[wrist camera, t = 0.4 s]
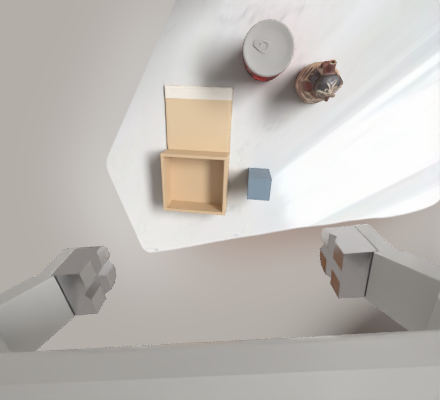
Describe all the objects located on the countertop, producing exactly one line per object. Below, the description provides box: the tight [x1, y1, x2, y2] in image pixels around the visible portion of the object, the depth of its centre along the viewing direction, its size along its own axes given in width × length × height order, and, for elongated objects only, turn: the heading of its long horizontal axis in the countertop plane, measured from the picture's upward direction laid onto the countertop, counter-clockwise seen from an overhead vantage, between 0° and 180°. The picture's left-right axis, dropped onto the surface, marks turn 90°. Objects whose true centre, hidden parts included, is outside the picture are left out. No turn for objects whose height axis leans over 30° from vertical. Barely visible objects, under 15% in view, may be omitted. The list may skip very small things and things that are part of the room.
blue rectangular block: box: [247, 168, 272, 201], centre depth 53 cm, size 4×4×8 cm
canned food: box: [243, 19, 294, 81], centre depth 42 cm, size 8×8×11 cm
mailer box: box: [160, 85, 233, 215], centre depth 53 cm, size 26×14×6 cm, turn 178°
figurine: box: [295, 60, 343, 103], centre depth 43 cm, size 7×7×12 cm
